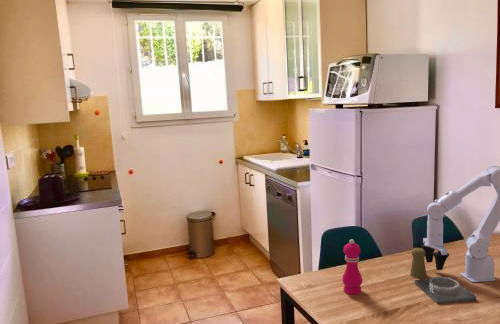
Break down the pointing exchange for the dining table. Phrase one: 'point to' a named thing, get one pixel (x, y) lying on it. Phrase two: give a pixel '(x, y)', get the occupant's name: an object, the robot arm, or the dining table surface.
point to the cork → (418, 263)
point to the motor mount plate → (445, 297)
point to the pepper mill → (352, 269)
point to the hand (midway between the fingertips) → (434, 265)
